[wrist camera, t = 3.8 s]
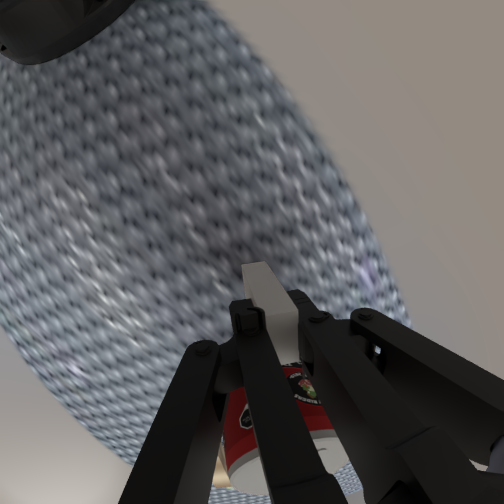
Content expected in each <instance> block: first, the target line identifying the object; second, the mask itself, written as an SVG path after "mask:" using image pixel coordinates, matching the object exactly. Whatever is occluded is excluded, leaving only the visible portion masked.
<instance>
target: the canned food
mask: <svg viewBox="0 0 504 504" xmlns="http://www.w3.org/2000/svg"><path fill="white" fill-rule="evenodd" d="M282 368H283V370H284V373H285V375H286V378H287V380H288V382H289V385H290V387H291V390H292V392H293V394H294V397H295V399H296V402H297V404H298V406H299V409H300V411H301V413H302V416H303V418H304V420H305V423H306V425H307V428H308V430H309V432H310V435H311V437H312V439H313V442H314V444H315V446H316V449H317V451H318V453H319V455H320V458H321V460H322V462H323V465H324V467H325V469H326V471H327V472H328V473H330V474H334V473H335V472H337V471H338V470H339V469H340V468H342V467H343V466H344V465H345V464H346V463H347V462H348V461H349V458H348V456H347V454H346V452H345V450H344V448H343V446H342V444H341V442H340V440H339V438H338V436H337V434H336V432H335V430H334V428H333V426H332V424H331V422H330V420H329V418H328V416H327V415H326V413H325V411H324V409H323V407H322V405H321V403H320V401H319V399H318V397H317V395H316V393H315V391H314V389H313V387H312V385H311V383H310V381H309V379H308V377H307V375H305V380H303V377H302V356H301V354H300V352H299V361H298V362H294V363H289V364H285V365H282ZM222 435H223V444H224V452H225V460H226V466H227V472H228V477H229V479H230V484H231V485H232V487H233V488H234V489H236V490H238V491H240V492H243V493H247V494H252V495H269V492H268V488H267V484H266V480H265V476H264V472H263V468H262V464H261V460H260V456H259V452H258V448H257V444H256V439H255V435H254V431H253V426H252V422H251V417H250V413H249V408H248V404H247V399H246V395H245V390H244V386H243V387H241V388H238V389H236V390H234V391H231V392H230V398H229V403H228V408H227V413H226V418H225V423H224V427H223V432H222Z"/></svg>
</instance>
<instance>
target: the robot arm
mask: <svg viewBox="0 0 504 504" xmlns="http://www.w3.org/2000/svg"><path fill="white" fill-rule="evenodd" d="M133 1H134V0H0V53H1V54H3V55H4V56H5V57H7V58H9V59H11V60H13V61H15V62H17V63H20V64H28V65H29V64H37V63H42V62H45V61H48V60H51V59H53V58H56V57H58V56H60V55H62V54H64V53H66V52H68V51H70V50H72V49H74V48H75V47H77V46H79V45H80V44H82V43H84V42H85V41H87V40H88V39H90V38H91V37H92V36H94V35H95V34H97V33H98V32H99V31H101V30H102V29H103V28H105V27H106V26H107V25H109V24H110V23H111V22H112V21H113V20H115V19H116V18H117V17H118V16H119V15H120V14H121V13H122V12H124V11H125V10H126V9H127V8H128V7H129V6H130V4H131V3H132V2H133ZM241 266H242V274H243V282H244V290H245V298H246V299H243V300H236V301H232V302H231V304H230V305H229V310H230V316H231V322H232V328H233V334H234V335H233V337H232V338H231V339H230V340H229V341H227V342H226V343H223V344H221V345H218V344H217V343H216V342H214V341H212V340H200V341H197V342H194V343H192V344H191V345H189V346H188V348H187V349H186V351H185V353H184V355H183V357H182V360H181V362H180V364H179V366H178V368H177V370H176V373H175V375H174V377H173V379H172V381H171V383H170V386H169V388H168V390H167V392H166V394H165V397H164V399H163V401H162V403H161V406H160V408H159V410H158V412H157V414H156V417H155V419H154V421H153V423H152V426H151V428H150V430H149V432H148V435H147V437H146V439H145V441H144V444H143V446H142V448H141V451H140V453H139V455H138V458H137V460H136V462H135V464H134V467H133V469H132V472H131V474H130V476H129V479H128V481H127V483H126V486H125V488H124V490H123V493H122V495H121V498H120V500H119V503H118V504H208V500H209V495H210V490H211V486H212V481H213V476H214V471H215V466H216V462H217V457H218V452H219V447H220V442H221V437H222V432H223V427H224V423H225V418H226V413H227V408H228V403H229V398H230V392H231V391H234V390H236V389H238V388H241V387H243V386H244V390H245V395H246V399H247V404H248V408H249V413H250V417H251V422H252V426H253V431H254V435H255V439H256V444H257V448H258V452H259V456H260V460H261V464H262V468H263V472H264V476H265V480H266V484H267V488H268V492H269V496H270V499H271V503H272V504H348V502H347V500H346V498H345V496H344V493H343V491H342V489H341V487H340V485H339V483H338V481H337V479H336V478H335V477H334V475H333V474H330V473H328V472H327V471H326V469H325V467H324V465H323V462H322V460H321V458H320V455H319V453H318V451H317V449H316V446H315V444H314V442H313V439H312V437H311V435H310V432H309V430H308V428H307V425H306V423H305V420H304V418H303V416H302V413H301V411H300V409H299V406H298V404H297V402H296V399H295V397H294V394H293V392H292V390H291V387H290V385H289V382H288V380H287V378H286V375H285V373H284V370H283V368H282V365H285V364H289V363H294V362H298V361H299V352H300V354H301V356H302V377H303V380H305V375H307V377H308V379H309V381H310V383H311V385H312V387H313V389H314V391H315V393H316V395H317V397H318V399H319V401H320V403H321V405H322V407H323V409H324V411H325V413H326V415H327V416H328V418H329V420H330V422H331V424H332V426H333V428H334V430H335V432H336V434H337V436H338V438H339V440H340V442H341V444H342V446H343V448H344V450H345V452H346V454H347V456H348V458H349V460H350V462H351V464H352V466H353V468H354V470H355V471H356V473H357V475H358V477H359V479H360V481H361V483H362V486H363V491H364V492H363V493H364V500H365V503H366V504H504V380H502V379H501V378H499V377H497V376H495V375H493V374H491V373H490V372H488V371H486V370H484V369H483V368H481V367H479V366H477V365H475V364H474V363H472V362H470V361H468V360H466V359H465V358H463V357H461V356H459V355H457V354H455V353H454V352H452V351H450V350H448V349H446V348H444V347H443V346H441V345H439V344H437V343H435V342H433V341H431V340H430V339H428V338H426V337H424V336H422V335H421V334H419V333H417V332H415V331H413V330H411V329H410V328H408V327H406V326H404V325H402V324H400V323H399V322H397V321H395V320H393V319H391V318H389V317H387V316H386V315H384V314H382V313H380V312H378V311H376V310H374V309H371V308H359V309H355V310H354V311H352V313H351V315H350V319H342V320H336V319H335V318H334V317H333V316H332V315H331V314H330V313H328V312H325V311H319V310H318V308H317V307H316V306H315V305H314V304H313V302H312V301H311V300H310V299H309V298H308V296H307V295H306V294H305V293H304V292H302V291H300V290H298V289H296V290H291V291H285V290H284V288H283V287H282V285H281V284H280V282H279V281H278V279H277V278H276V276H275V275H274V273H273V272H272V270H271V269H270V267H269V266H268V264H267V263H266V261H262V262H255V263H248V264H242V265H241ZM376 346H378V347H379V348H381V351H380V354H378V353H376V352H375V348H376ZM469 459H470V460H472V461H474V462H477V463H479V464H482V465H486V466H488V468H487V470H486V471H480V470H477V469H476V468H475V467H474V465H473V464H472V463H471V462H470V460H469Z"/></svg>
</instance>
